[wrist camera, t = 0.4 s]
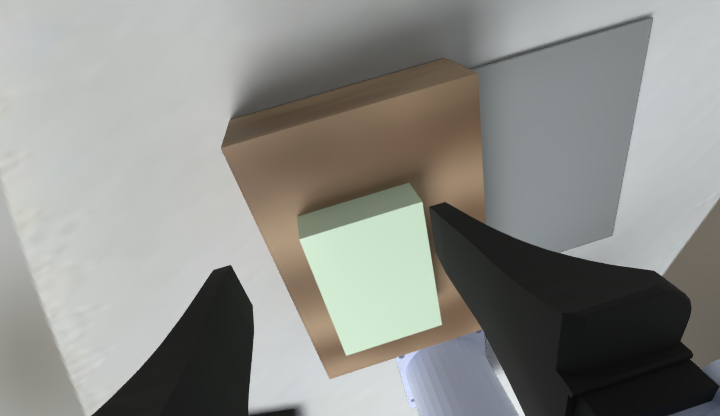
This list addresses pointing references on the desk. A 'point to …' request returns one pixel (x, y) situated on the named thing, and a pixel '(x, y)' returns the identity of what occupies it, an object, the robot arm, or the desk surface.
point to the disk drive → (279, 413)
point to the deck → (363, 180)
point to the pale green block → (373, 267)
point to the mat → (560, 136)
